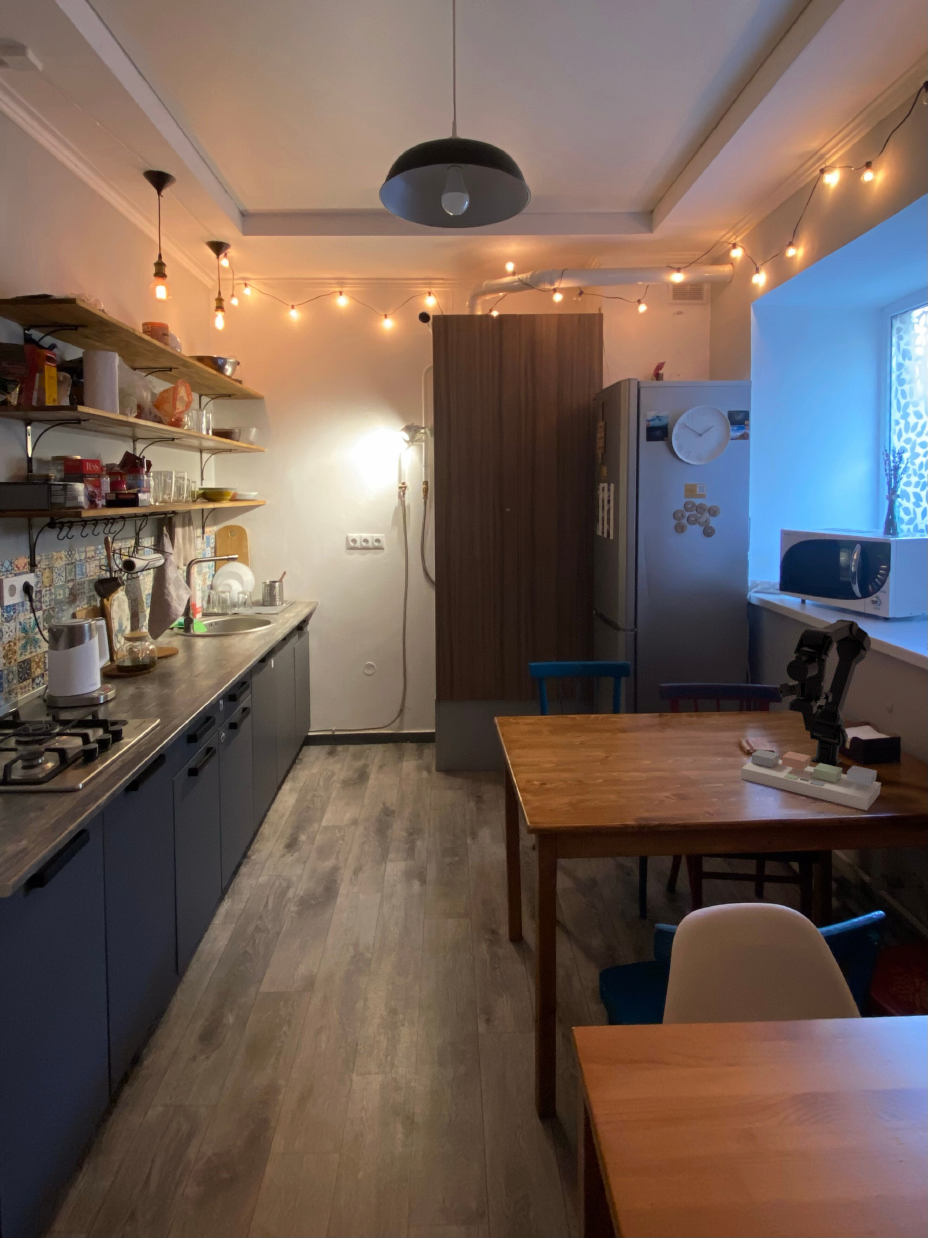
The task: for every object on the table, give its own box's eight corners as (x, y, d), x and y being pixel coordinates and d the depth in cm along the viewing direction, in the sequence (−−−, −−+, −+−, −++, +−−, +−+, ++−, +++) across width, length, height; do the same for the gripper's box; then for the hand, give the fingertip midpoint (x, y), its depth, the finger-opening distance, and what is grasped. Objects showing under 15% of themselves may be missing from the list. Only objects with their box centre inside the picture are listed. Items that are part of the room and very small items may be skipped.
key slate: (758, 757, 216) (758, 749, 215) (778, 762, 212) (779, 753, 212) (751, 762, 212) (751, 754, 211) (772, 767, 208) (772, 759, 208)
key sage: (818, 771, 206) (819, 763, 205) (841, 776, 202) (842, 768, 202) (812, 777, 202) (813, 768, 201) (835, 782, 198) (836, 773, 198)
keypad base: (758, 765, 219) (759, 754, 219) (879, 794, 200) (881, 782, 199) (740, 778, 209) (741, 767, 208) (866, 810, 189) (868, 798, 189)
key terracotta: (788, 759, 211) (789, 751, 210) (809, 764, 207) (810, 756, 207) (781, 765, 206) (782, 756, 206) (803, 770, 203) (804, 761, 202)
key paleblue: (852, 774, 201) (853, 765, 200) (875, 779, 197) (876, 770, 197) (846, 780, 196) (847, 771, 196) (870, 786, 193) (871, 776, 192)
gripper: (793, 664, 222) (788, 717, 225) (771, 676, 208) (766, 732, 210) (835, 671, 215) (829, 725, 217) (815, 683, 201) (809, 741, 203)
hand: (808, 730), depth 212 cm, fingers closed
